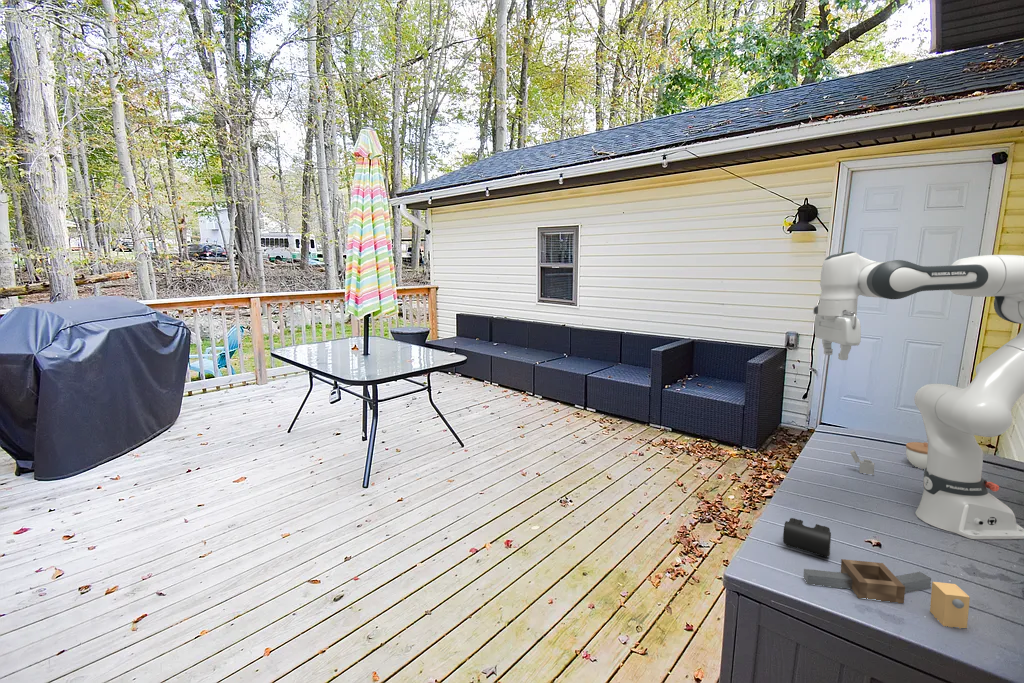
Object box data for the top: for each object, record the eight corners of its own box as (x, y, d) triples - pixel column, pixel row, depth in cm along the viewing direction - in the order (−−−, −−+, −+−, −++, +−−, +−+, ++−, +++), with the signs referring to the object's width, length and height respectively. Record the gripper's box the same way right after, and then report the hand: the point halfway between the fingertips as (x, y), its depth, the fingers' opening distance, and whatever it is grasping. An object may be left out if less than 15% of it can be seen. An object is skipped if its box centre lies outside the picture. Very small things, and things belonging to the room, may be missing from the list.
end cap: (782, 549, 118) (783, 525, 117) (786, 537, 123) (787, 514, 122) (828, 563, 111) (829, 538, 111) (831, 550, 117) (832, 526, 116)
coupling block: (950, 612, 94) (953, 582, 93) (969, 631, 89) (972, 599, 88) (927, 610, 95) (930, 579, 94) (944, 628, 90) (947, 596, 89)
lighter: (873, 474, 160) (875, 453, 159) (873, 476, 158) (875, 454, 157) (849, 469, 164) (850, 449, 163) (848, 471, 163) (850, 450, 162)
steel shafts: (924, 581, 103) (924, 572, 103) (942, 599, 98) (943, 589, 97) (797, 568, 110) (797, 559, 110) (807, 584, 104) (807, 575, 104)
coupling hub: (881, 578, 105) (882, 563, 104) (903, 603, 97) (905, 586, 96) (840, 574, 107) (841, 559, 107) (858, 598, 99) (859, 582, 98)
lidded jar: (902, 459, 172) (904, 436, 171) (941, 465, 165) (943, 440, 164) (906, 469, 163) (908, 444, 162) (946, 475, 157) (949, 450, 156)
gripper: (869, 311, 117) (866, 363, 119) (834, 307, 137) (831, 351, 138) (842, 312, 119) (839, 363, 120) (810, 308, 138) (808, 352, 140)
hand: (835, 357), depth 129 cm, fingers open, 8 cm apart
